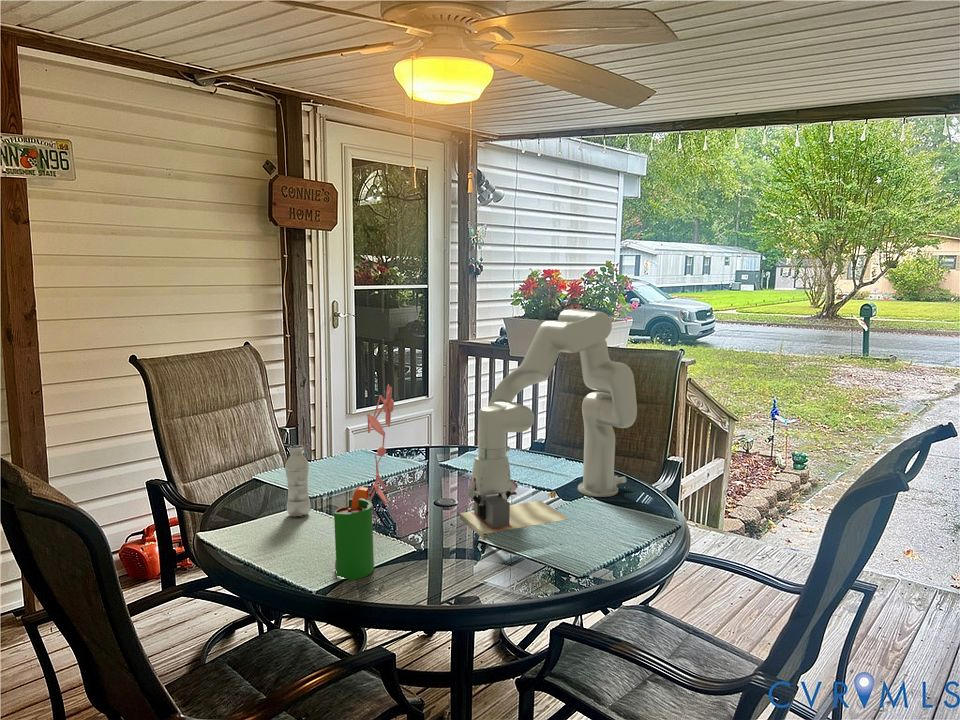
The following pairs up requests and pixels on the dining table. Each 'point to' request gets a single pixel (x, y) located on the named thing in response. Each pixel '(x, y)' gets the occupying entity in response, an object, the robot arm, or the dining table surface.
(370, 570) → the green cylindrical container
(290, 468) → the plastic bottle
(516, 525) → the board
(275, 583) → the dining table surface
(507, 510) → the block
